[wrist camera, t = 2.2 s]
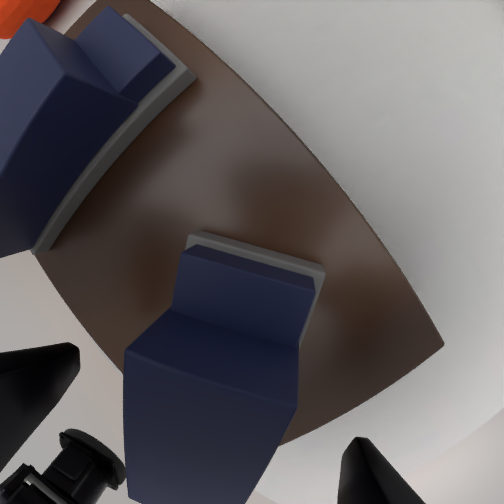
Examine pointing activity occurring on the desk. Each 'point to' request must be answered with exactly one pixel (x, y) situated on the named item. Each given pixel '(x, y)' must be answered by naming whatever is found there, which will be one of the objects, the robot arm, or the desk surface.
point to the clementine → (23, 14)
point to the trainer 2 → (216, 373)
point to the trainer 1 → (73, 117)
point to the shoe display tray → (236, 232)
